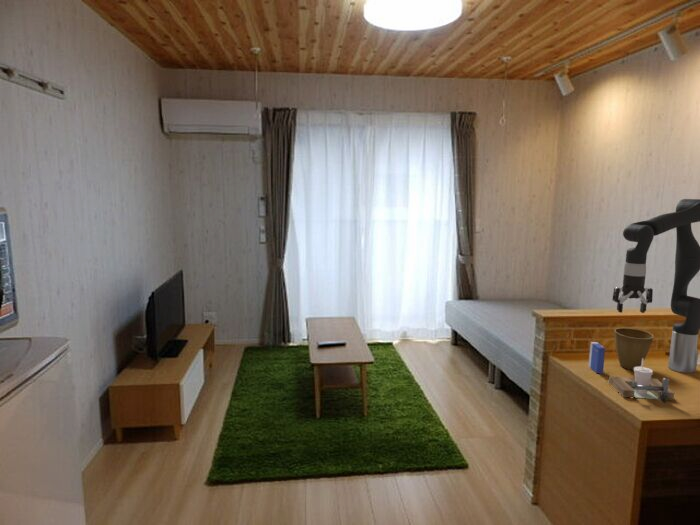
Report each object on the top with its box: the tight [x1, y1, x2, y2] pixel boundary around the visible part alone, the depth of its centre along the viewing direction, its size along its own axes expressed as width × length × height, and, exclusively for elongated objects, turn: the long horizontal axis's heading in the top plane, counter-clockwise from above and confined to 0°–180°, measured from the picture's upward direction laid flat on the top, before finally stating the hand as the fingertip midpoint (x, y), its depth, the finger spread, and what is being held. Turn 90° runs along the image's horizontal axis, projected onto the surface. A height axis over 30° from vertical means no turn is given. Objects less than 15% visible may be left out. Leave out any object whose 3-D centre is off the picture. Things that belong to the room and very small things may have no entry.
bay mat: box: [632, 388, 659, 400], centre depth 179 cm, size 9×9×1 cm
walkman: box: [588, 341, 606, 374], centre depth 201 cm, size 8×3×12 cm, turn 176°
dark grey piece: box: [632, 377, 670, 403], centre depth 172 cm, size 13×2×9 cm, turn 82°
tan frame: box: [608, 375, 675, 401], centre depth 180 cm, size 18×13×3 cm
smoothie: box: [633, 358, 654, 395], centre depth 178 cm, size 6×6×14 cm
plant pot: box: [614, 327, 654, 371], centre depth 204 cm, size 15×15×16 cm
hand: (631, 312), depth 187 cm, fingers open, 8 cm apart
